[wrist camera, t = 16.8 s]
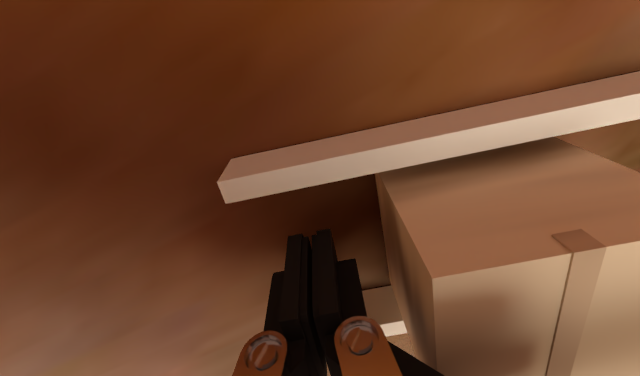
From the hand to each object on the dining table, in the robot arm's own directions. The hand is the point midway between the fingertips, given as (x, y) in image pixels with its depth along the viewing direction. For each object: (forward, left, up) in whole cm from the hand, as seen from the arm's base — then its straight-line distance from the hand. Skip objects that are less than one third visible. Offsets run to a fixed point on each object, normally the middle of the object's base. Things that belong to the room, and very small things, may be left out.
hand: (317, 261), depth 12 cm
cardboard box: (0, +6, -1) cm, 6 cm away
